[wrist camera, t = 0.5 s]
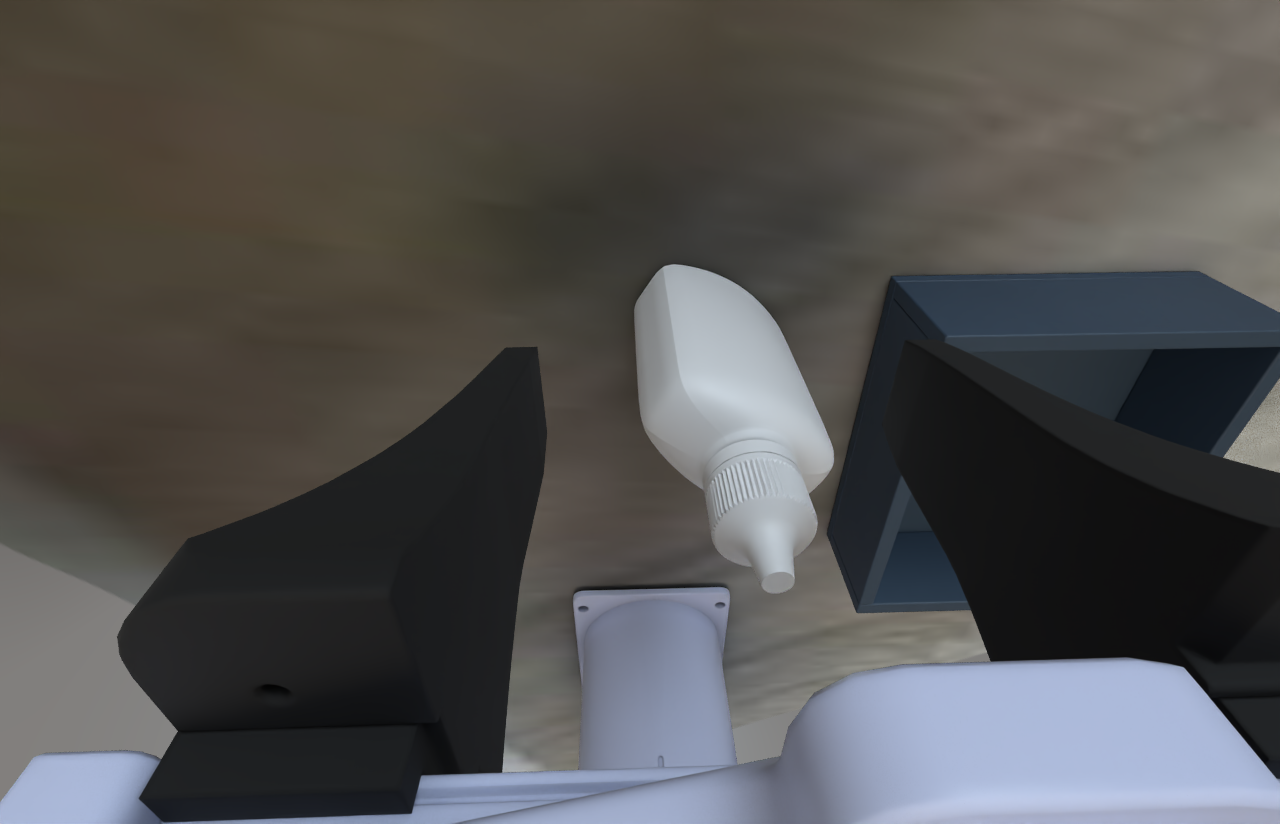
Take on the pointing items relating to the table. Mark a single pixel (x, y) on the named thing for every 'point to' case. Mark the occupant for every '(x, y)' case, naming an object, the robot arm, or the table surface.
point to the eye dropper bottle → (732, 416)
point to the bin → (1061, 365)
